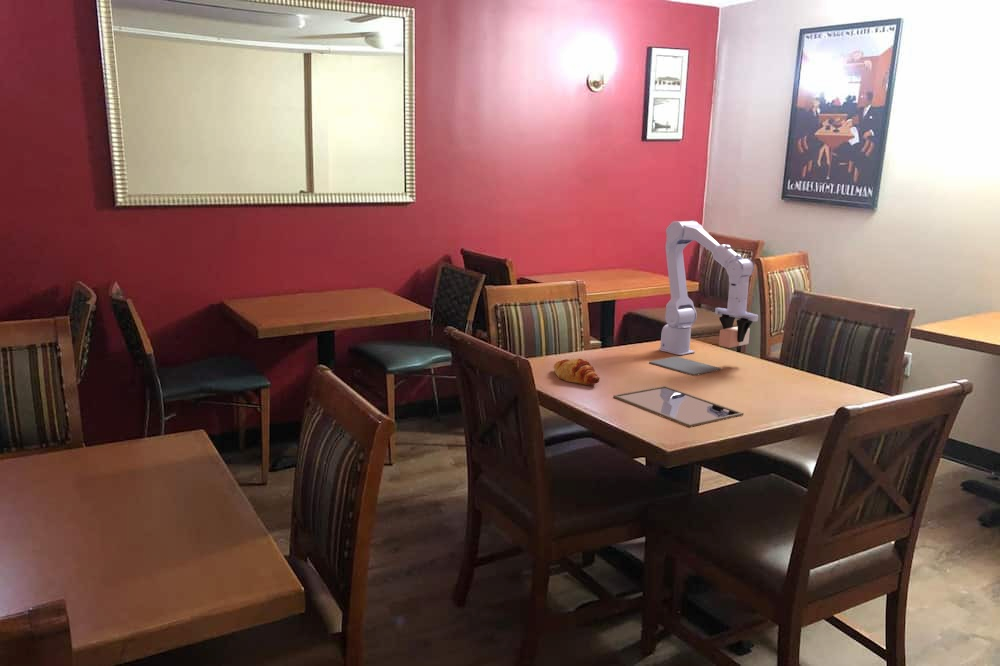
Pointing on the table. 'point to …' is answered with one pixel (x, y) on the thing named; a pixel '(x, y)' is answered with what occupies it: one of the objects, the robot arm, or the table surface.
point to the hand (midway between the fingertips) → (734, 340)
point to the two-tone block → (732, 337)
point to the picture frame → (678, 406)
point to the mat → (685, 365)
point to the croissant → (576, 371)
